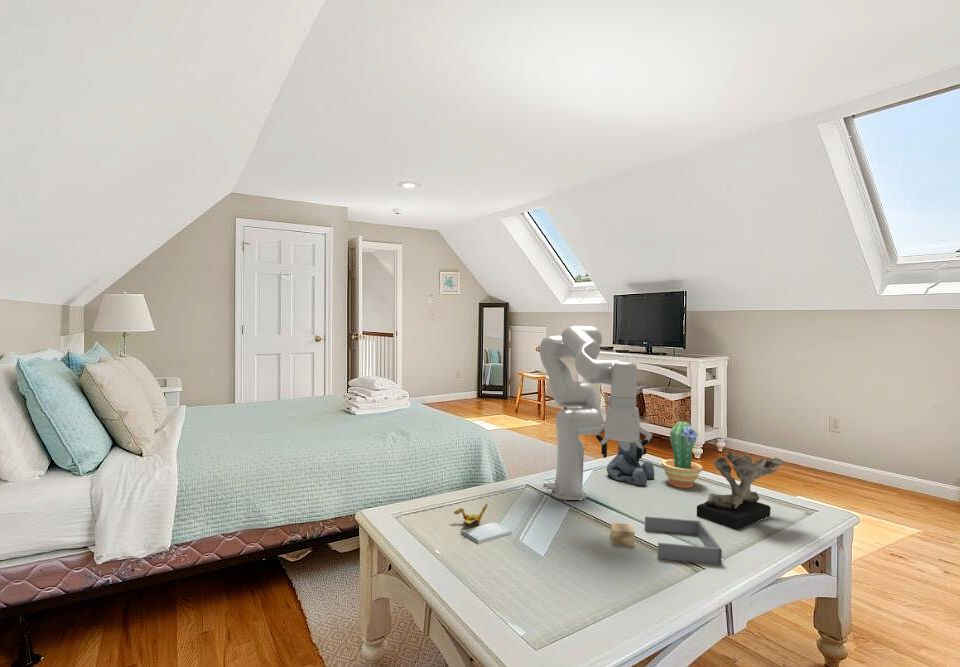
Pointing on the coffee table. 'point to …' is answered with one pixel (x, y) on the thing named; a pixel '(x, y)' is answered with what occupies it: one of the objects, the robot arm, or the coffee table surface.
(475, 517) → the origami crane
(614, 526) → the wooden block
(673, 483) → the potted cactus
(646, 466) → the koala plush
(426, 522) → the coffee table surface
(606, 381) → the robot arm
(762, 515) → the coral
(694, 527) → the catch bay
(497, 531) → the hard drive
